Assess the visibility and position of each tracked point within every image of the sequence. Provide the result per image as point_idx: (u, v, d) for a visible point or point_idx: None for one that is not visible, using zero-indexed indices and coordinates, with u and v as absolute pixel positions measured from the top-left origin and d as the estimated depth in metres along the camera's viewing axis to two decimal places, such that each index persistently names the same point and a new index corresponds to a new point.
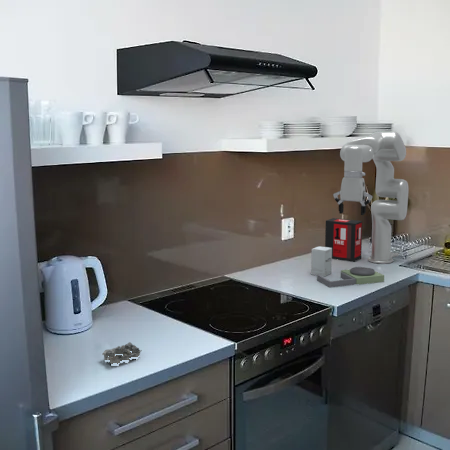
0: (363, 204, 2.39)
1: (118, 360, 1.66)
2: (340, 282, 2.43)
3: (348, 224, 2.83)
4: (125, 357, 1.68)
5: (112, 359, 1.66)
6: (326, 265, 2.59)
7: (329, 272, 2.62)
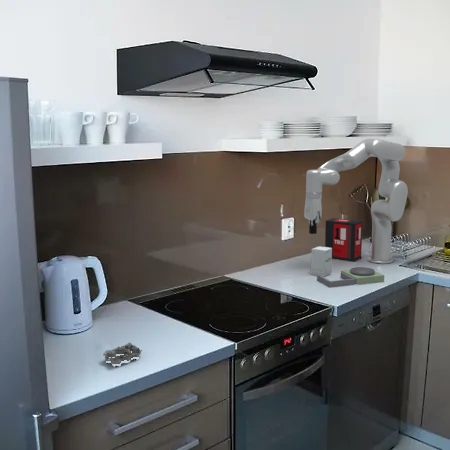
0: None
1: (120, 360, 1.66)
2: (340, 282, 2.43)
3: (348, 224, 2.83)
4: (126, 357, 1.68)
5: (113, 359, 1.66)
6: (326, 265, 2.59)
7: (329, 272, 2.62)
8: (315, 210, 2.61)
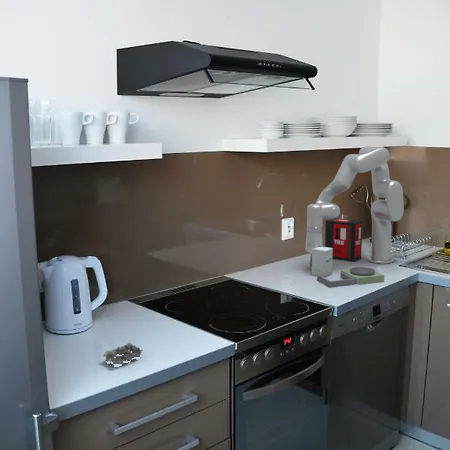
0: None
1: (121, 361, 1.66)
2: (340, 282, 2.43)
3: (348, 224, 2.83)
4: (127, 357, 1.68)
5: (115, 360, 1.66)
6: (326, 265, 2.58)
7: (330, 272, 2.61)
8: (316, 244, 2.63)
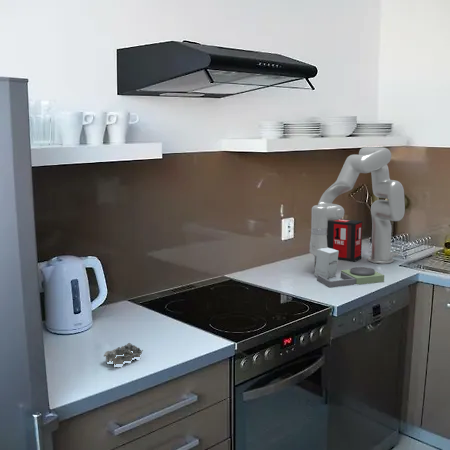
0: None
1: (121, 361, 1.66)
2: (340, 282, 2.43)
3: (348, 224, 2.83)
4: (128, 357, 1.68)
5: (115, 360, 1.65)
6: (330, 267, 2.54)
7: (333, 275, 2.57)
8: (320, 246, 2.58)
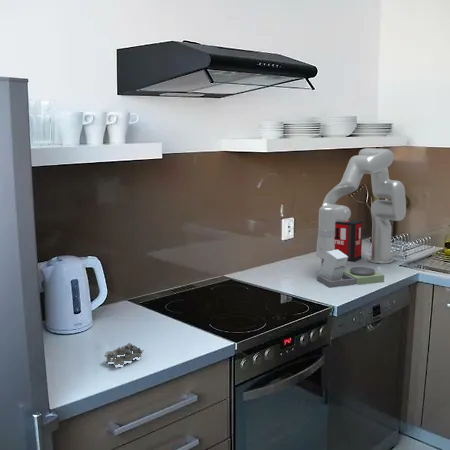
0: None
1: (122, 361, 1.66)
2: (340, 282, 2.43)
3: (348, 224, 2.83)
4: (128, 358, 1.68)
5: (116, 360, 1.65)
6: (335, 272, 2.47)
7: (338, 279, 2.51)
8: (328, 249, 2.50)
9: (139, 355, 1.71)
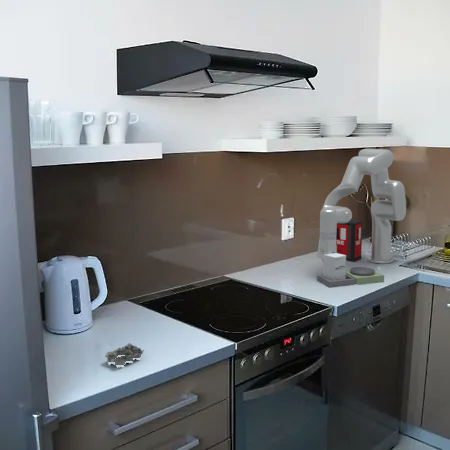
0: None
1: (123, 361, 1.65)
2: (340, 282, 2.43)
3: (348, 224, 2.83)
4: (129, 358, 1.68)
5: (117, 361, 1.65)
6: (336, 273, 2.45)
7: None
8: (330, 251, 2.50)
9: (140, 355, 1.71)
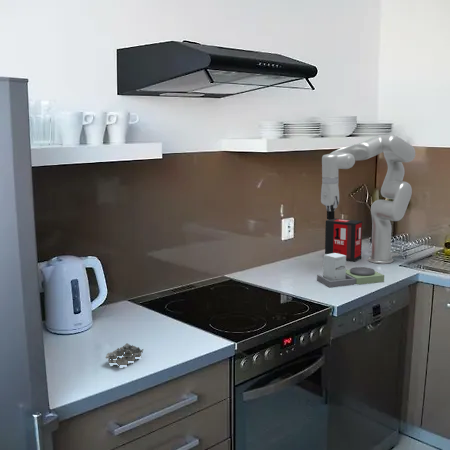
0: None
1: (126, 361, 1.66)
2: (340, 282, 2.43)
3: (348, 224, 2.83)
4: (131, 357, 1.68)
5: (120, 361, 1.65)
6: (336, 273, 2.45)
7: None
8: (333, 195, 2.57)
9: (140, 354, 1.71)
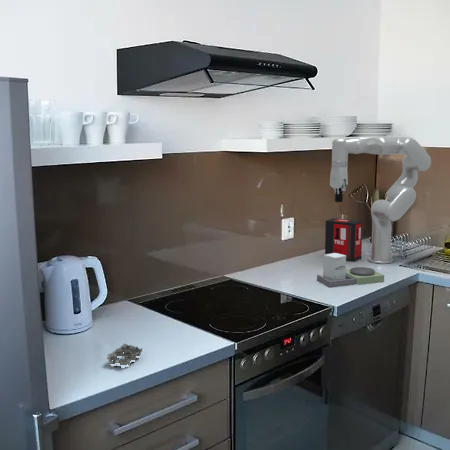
0: None
1: (129, 361, 1.66)
2: (340, 282, 2.43)
3: (348, 224, 2.83)
4: (132, 357, 1.68)
5: (123, 361, 1.65)
6: (336, 273, 2.45)
7: None
8: (341, 178, 2.66)
9: (140, 353, 1.72)
